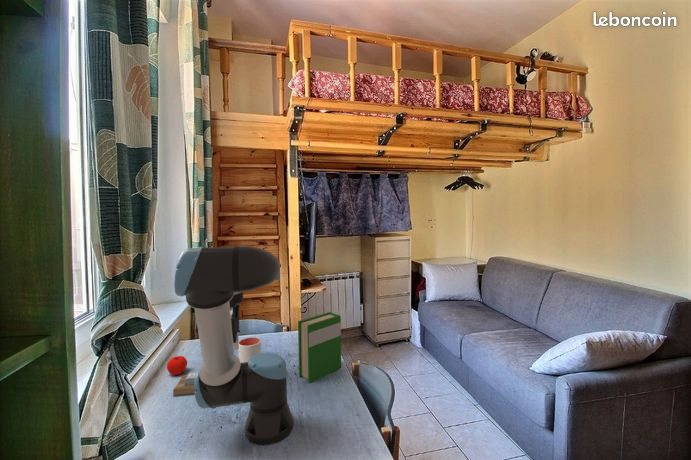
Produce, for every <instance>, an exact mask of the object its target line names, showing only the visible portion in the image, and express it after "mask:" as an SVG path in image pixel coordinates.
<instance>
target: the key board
mask: <svg viewBox="0 0 691 460" xmlns="http://www.w3.org/2000/svg"><path fill="white" fill-rule="evenodd" d="M187 376H188V374H187V375H182V377H181V378H180V380H179V381H178V382H177V385H175V387H174V388H173V390H172V394H173V397H181V396H182V397H183V396H193V395H194V396H195V389H194V385H188V386H186V381H185V379H186V377H187Z"/></svg>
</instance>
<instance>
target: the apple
mask: <svg viewBox="0 0 691 460" xmlns="http://www.w3.org/2000/svg"><path fill="white" fill-rule="evenodd" d="M187 367H188V360H187V358H186V357H185V356H182V355H177V356H174V357H172V358H170V359H169V360H168V362H167V364H166V369H167V372H168V373H169V374H171V375H172V376H178V375H182V374H183V373H184V371H185V370H186V368H187Z"/></svg>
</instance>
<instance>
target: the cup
mask: <svg viewBox="0 0 691 460" xmlns="http://www.w3.org/2000/svg"><path fill="white" fill-rule="evenodd" d="M261 344H262V341H261V338H259V337H246V338H243V339H241V340H239V349H238V350H237V351H238V358H239V360H240V363H244V362H248V361H249V359H250V358H251V357H252V356H253V355H257V354H259V353H262V345H261Z"/></svg>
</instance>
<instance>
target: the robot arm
mask: <svg viewBox="0 0 691 460" xmlns="http://www.w3.org/2000/svg"><path fill="white" fill-rule="evenodd" d="M280 278H281V264H280V261H279V259H278V257H276V255H275V254H273V253H272V252H270V251H269V250H266V249H263V248H261V247H260V248H259V247H256V246H248V245H239V246H233V245H232V246H212V247H211V246H208V247H202V246H199V247H190V248H188V247H187V248H185V249H184V250H183V251H181V253H180V254H179V257H178V259H177V263H176V268H175V274H174V284H173V285H174V292H175V295H176V296H179V297H184V296H185V300H186V303H187V305H188V306H189V307H191V308H193V309H194V312H195V313H194V315H195V320H196V326H197V331H198V338H199V345H200V351H201V357H202V364H201V366H200V367H199V369H197V371H195V372H196V375H195V381H194V389H195V395H194V398H195V402H196V404H197V405H198V407H200V408H201V409H216V408H221V407H228V406H235V405H240V404H247V403H249V411H248V415H247V417H246V420H245V422H244V423H245V424H244V435H245V438H246V440H247V441H249V443H251V444H254V445H256V446H257V445H258V446H268V445H273V444H276V443H279V442H281V441H282V440H284V439H285V438H287V437H288V436H289V435H290V434H291V433H292V431H293V429H294V416H293V413H292V412H291V409H290V406H289V403H288V388H287V386H288V385H287V383H288V382H287V377H288V370H287V362H286V360H285V358H284V357H282V356H281V355H278V354H276V353H270V352H261V353H259V354H257V355H253V356H252V357H251V358H250V359H249V361H248V362H244V363H240V360H239V356H238V355H236V354H235V351H238V349H239V341H240V340H239V333H241V329H240V310H241V309H240V308H241V307H240V303H242V302H243V301H244V292H248V291H254V290H257V289H261V288H264V287H266V286H268V285H270V284H272V283H275V281H276V282H277V281H279V280H280Z"/></svg>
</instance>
